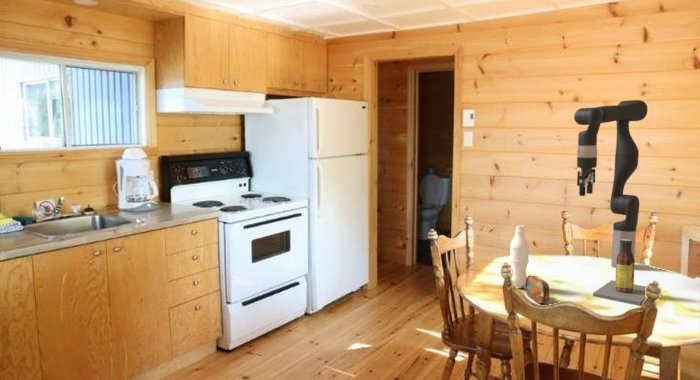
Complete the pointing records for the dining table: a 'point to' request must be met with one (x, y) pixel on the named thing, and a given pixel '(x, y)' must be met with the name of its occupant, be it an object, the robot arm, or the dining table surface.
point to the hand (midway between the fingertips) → (585, 194)
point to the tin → (537, 289)
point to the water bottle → (519, 257)
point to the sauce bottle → (625, 267)
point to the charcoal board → (621, 294)
